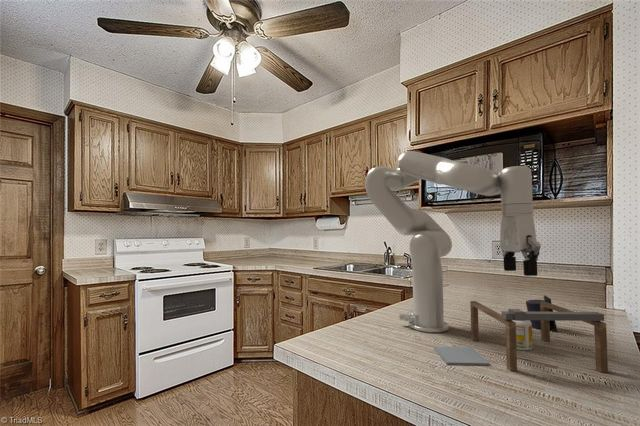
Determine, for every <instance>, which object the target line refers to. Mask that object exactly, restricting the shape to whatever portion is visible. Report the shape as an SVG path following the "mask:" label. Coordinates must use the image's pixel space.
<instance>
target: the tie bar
mask: <svg viewBox="0 0 640 426" xmlns="http://www.w3.org/2000/svg"><path fill="white" fill-rule="evenodd" d="M522 310H523V309H520V308H508V309H507V311H506V310H503V311H501V313H500V314H501V315H502V318H503V319H505V320H515V321H526V320H554V321H555V322H556V321H560V322H561V321H565V322H566V321H570V322H571V321H573V322H574V321H578V322H579V321H580V322H583V321H601V322H604V321H605V313H601V312H599V311H573V312H557V311H553V312H530V311H527V310H524V311H522Z"/></svg>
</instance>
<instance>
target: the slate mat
mask: <svg viewBox="0 0 640 426" xmlns="http://www.w3.org/2000/svg"><path fill="white" fill-rule="evenodd" d="M433 349H434V350H435V352H436V353H437V355H438V356H440V358H441V360H442V361H444V363H445V364H446V365H447V366H449V365H450V366H453V365H455V366H456V365H458V366H462V365H464V366H490V364H491V363H490V362H489V361H488V360H487V359H485V358H484V357H483V356H482V355H481V354H480V353H479V352H478V351H477V350H475V349H474V348H473V347H472V346H469V347H468V346H434V347H433Z"/></svg>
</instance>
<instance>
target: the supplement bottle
mask: <svg viewBox="0 0 640 426" xmlns="http://www.w3.org/2000/svg"><path fill="white" fill-rule="evenodd" d="M521 310H522V311H525V310H523V309H521ZM512 321H514V322H516V348H517V350H519V351H531V350H532V349H533V329H532V323H531V321H530V320H526V321H515V320H512Z"/></svg>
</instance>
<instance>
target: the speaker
mask: <svg viewBox="0 0 640 426" xmlns="http://www.w3.org/2000/svg"><path fill="white" fill-rule="evenodd" d="M540 302H548V303H551V304H553V302H552V299H551V298H550V297H548V296H547V295H545V294H544V295H543V299H529V300H526V301H525V306H526V311H530V312H540ZM549 312H554V310H552V309H549ZM530 321H531V323H532V328H533V329H539V330H541V320H530ZM549 324H550V329H552V330H553V331H554V332H555V333H558V327H557V322H556V321H554V320H549Z"/></svg>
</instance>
